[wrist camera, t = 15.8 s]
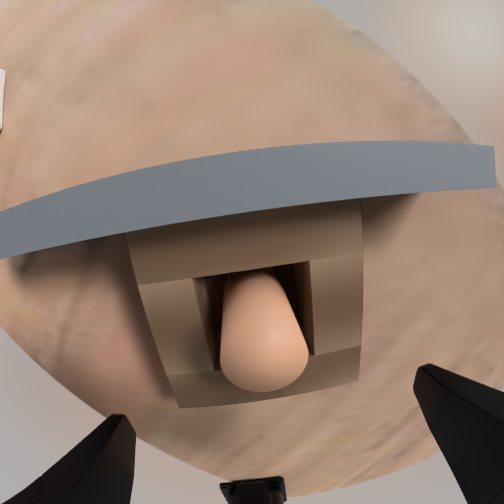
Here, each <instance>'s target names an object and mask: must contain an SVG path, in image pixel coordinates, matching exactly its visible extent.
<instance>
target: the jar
mask: <svg viewBox="0 0 504 504" xmlns="http://www.w3.org/2000/svg"><path fill="white" fill-rule="evenodd" d="M5 78H6V71H5V70H2V69H0V131H1V129H2V126H3V100H4V88H5Z"/></svg>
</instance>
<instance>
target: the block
mask: <svg viewBox="0 0 504 504" xmlns="http://www.w3.org/2000/svg"><path fill="white" fill-rule="evenodd" d="M125 236H126V241H127V245H128V249H129V254H130V258H131V262H132V266H133V270H134V274H135V278H136V282H137V285H138V289H139V293H140V296H141V300H142V303H143V306H144V310H145V313H146V316H147V320H148V323H149V326H150V329H151V332H152V335H153V338H154V341H155V344H156V347H157V350H158V353H159V356H160V359H161V362H162V364H163V367H164V370H165V373H166V375H167V378H168V380H169V383H170V386H171V388H172V391H173V393H174V396H175V398H176V401H177V403H178V406H179V408H193V407H207V406H219V405H229V404H238V403H246V402H254V401H261V400H268V399H274V398H280V397H286V396H291V395H297V394H302V393H307V392H312V391H316V390H321V389H325V388H330V387H334V386H338V385H342V384H346V383H350V382H354V381H358V376H359V365H360V353H361V337H362V316H363V238H362V216H361V201H360V198H355V199H346V200H337V201H328V202H320V203H311V204H303V205H295V206H287V207H280V208H272V209H265V210H258V211H251V212H244V213H237V214H230V215H223V216H217V217H210V218H204V219H198V220H192V221H186V222H180V223H174V224H168V225H162V226H157V227H151V228H145V229H140V230H134V231H129V232H125ZM291 263H294V272H295V283H296V294H297V307H298V319H296V320H297V323H298V325H299V327H300V330H301V332H302V335H303V337H304V340H305V342H306V344H307V348H308V361H307V364H306V367H305V369H304V371H303V372H302V373H301V375H300V376H299V377H298V378H297V379H296V380H295V381H293V382H292V383H291V384H289V385H287V386H285V387H283V388H281V389H278V390H274V391H270V392H252V391H248V390H244V389H242V388H239V387H237V386H236V385H234V384H233V383H232V382H230V381H229V380H228V379H227V377H226V376H225V375H224V373H223V371H222V368H221V364H220V353H221V332H222V330H220V331H217V328H216V323H215V319H214V314H213V309H212V305H211V300H210V295H209V290H208V285H207V280H206V276H210V275H217V274H224V273H231V272H238V271H245V270H251V269H258V268H265V267H271V266H278V265H284V264H291Z"/></svg>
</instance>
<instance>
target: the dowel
mask: <svg viewBox="0 0 504 504" xmlns="http://www.w3.org/2000/svg"><path fill="white" fill-rule="evenodd" d="M307 361H308V348H307V344H306V342H305V340H304V337H303V335H302V332H301V330H300V327H299V325H298V323H297V320H296V318H295V316H294V313H293V311H292V308H291V306H290V304H289V301H288V299H287V296H286V294H285V292H284V289H283V287H282V285H281V282H280V280H279V278H278V275H277V273H276V272H275V271H274V270H273V268H271V267H265V268H258V269H251V270H245V271H238V272H231V273H228V275H227V277H226V279H225V283H224V296H223V314H222V332H221V353H220V364H221V368H222V371H223V373H224V375H225V376H226V377H227V379H228V380H229V381H230V382H232V383H233V384H234V385H236V386H237V387H239V388H242V389H244V390H248V391H252V392H270V391H274V390H278V389H281V388H283V387H285V386H287V385H289V384H291V383H292V382H293V381H295V380H296V379H297V378H298V377H299V376H300V375H301V373H302V372H303V371H304V369H305V367H306V364H307Z"/></svg>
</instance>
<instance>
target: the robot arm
mask: <svg viewBox="0 0 504 504" xmlns="http://www.w3.org/2000/svg"><path fill="white" fill-rule="evenodd" d="M413 390H414V394H415V396H416V398H417V400H418V403H419V405H420V408H421V410H422V412H423V415H424V417H425V420H426V422H427V424H428V427H429V429H430V431H431V433H432V434H433V436H434V438H435V440H436V442H437V444H438V446H439V447H440V449H441V451H442V453H443V455H444V457H445V459H446V461H447V462H448V464H449V466H450V468H451V470H452V472H453V474H454V476H455V478H456V480H457V482H458V484H459V486H460V488H461V491H462V493H463V495H464V496H465V499H466V501H467V503H468V504H504V392H502V391H499V390H497V389H494V388H491V387H489V386H486V385H484V384H481V383H478V382H476V381H473V380H471V379H468V378H466V377H463V376H461V375H458V374H456V373H453V372H451V371H448V370H446V369H443V368H441V367H438V366H436V365H433V364H430V363H428V364H425V365H422V366H420V367H419V368H418V369H417V372H416V376H415V380H414V384H413ZM135 444H136V433H135V430H134V429H133V427H132V425H131V423H130V422H129V420H128V418H127V417H126V416H125V415H124V414H112V415H110V416H109V417H108V418H107V419H106V420H105V421H103V422H102V423H101V424H100V425H99V426H98V427H97V428H96V429H94V430H93V431H92V432H91V433H90V434H89V435H88V436H87V437H85V438H84V439H83V440H82V441H81V442H80V443H79V444H77V445H76V446H75V447H74V448H73V449H72V450H70V451H69V452H68V453H67V454H66V455H65V456H63V457H62V458H61V459H60V460H59V461H58V462H56V463H55V464H54V465H53V466H52V467H51V468H49V469H48V470H47V471H46V472H45V473H44V474H42V476H40V477H39V478H37V479H36V480H35V481H34V482H33V483H31V484H30V485H29V486H27V487H26V488H25V489H24V490H22V491H21V492H19V493H18V494H16V495H15V496H13V497H12V498H10V499H9V500H7V501H5V502H4V503H2V504H130V499H131V493H132V486H133V479H134V465H135V446H136V445H135ZM220 489H221V491H222V493H223V495H224V497H225V498H226V500H227V502H228V504H284V502H285V501H287V498H286V491H285V484H284V478H283V477H275V478H268V479H260V480H251V481H240V482H227V483H220Z"/></svg>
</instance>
